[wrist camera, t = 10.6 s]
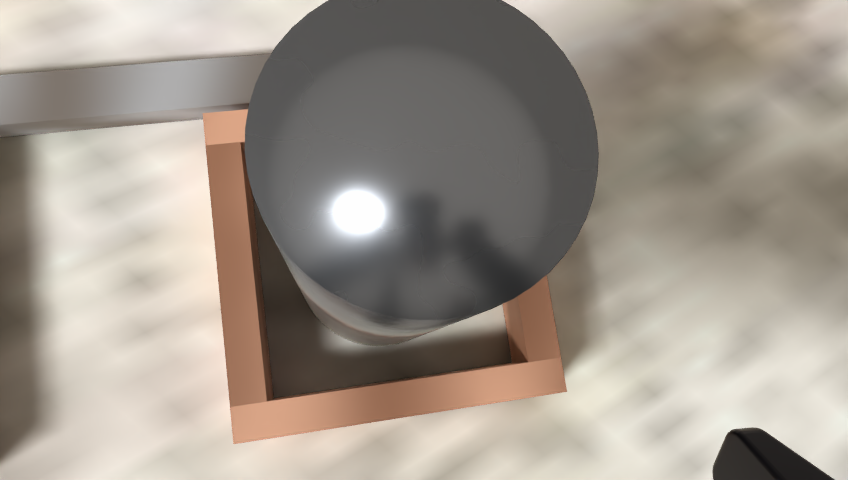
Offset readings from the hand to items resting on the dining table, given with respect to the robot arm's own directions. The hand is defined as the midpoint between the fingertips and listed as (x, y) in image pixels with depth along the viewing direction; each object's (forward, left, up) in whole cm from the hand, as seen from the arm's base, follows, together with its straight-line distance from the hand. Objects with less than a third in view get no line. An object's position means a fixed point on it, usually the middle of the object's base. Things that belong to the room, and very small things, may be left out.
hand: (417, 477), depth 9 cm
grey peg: (+2, -4, -12) cm, 13 cm away
